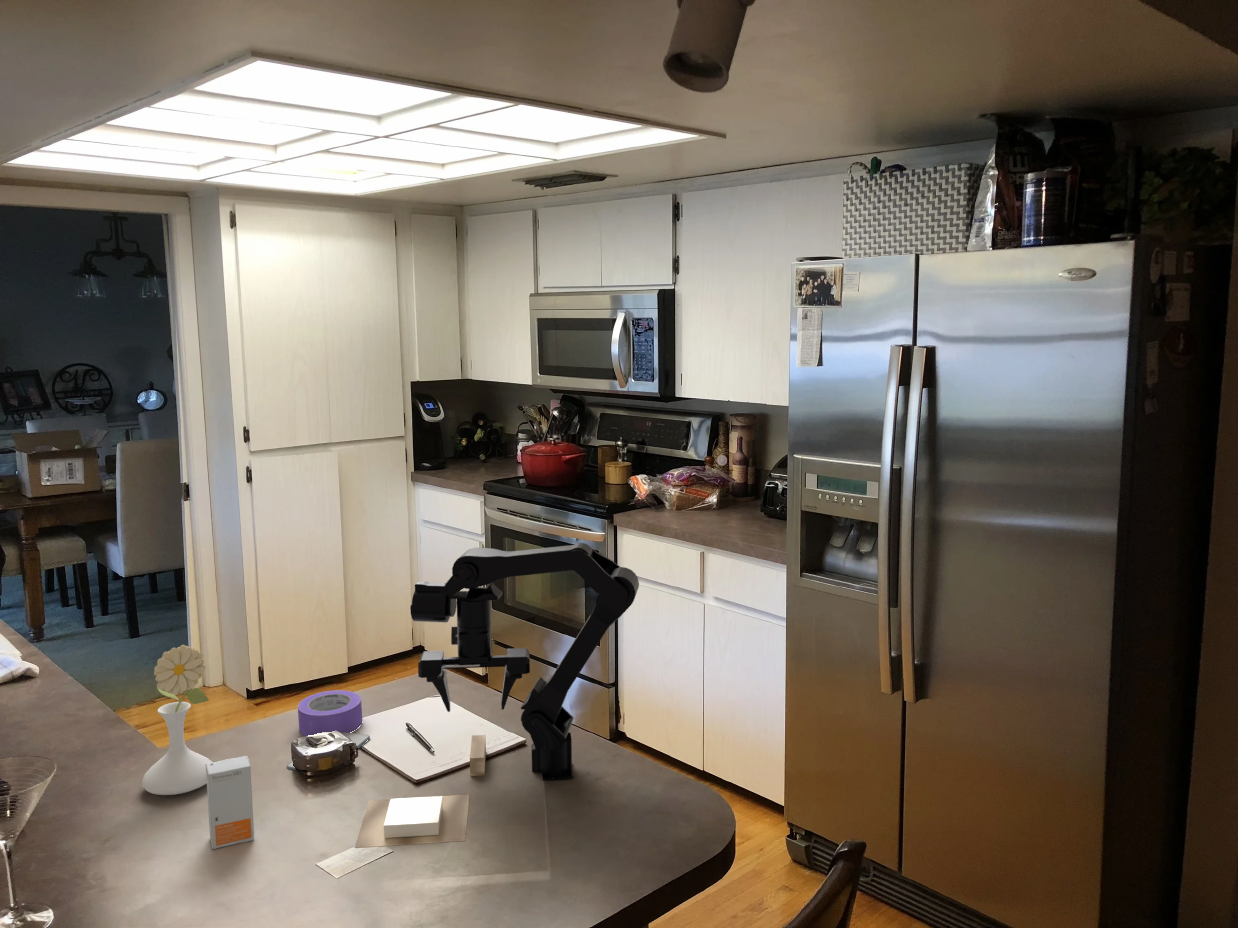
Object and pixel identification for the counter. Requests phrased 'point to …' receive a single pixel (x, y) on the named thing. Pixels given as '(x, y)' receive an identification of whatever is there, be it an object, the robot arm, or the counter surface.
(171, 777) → the flower in vase
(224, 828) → the skincare box
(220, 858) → the counter surface
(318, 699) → the tape roll
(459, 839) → the tan flat board
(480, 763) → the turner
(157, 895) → the counter surface
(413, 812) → the tile
